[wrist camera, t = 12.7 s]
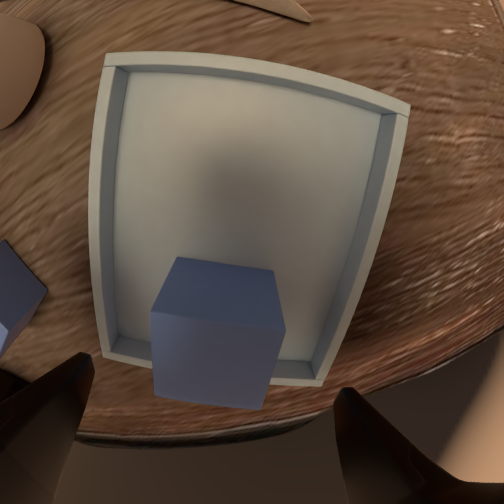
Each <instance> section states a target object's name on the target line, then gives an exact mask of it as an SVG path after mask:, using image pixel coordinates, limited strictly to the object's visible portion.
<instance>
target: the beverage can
mask: <svg viewBox="0 0 504 504" xmlns="http://www.w3.org/2000/svg"><path fill="white" fill-rule="evenodd" d="M44 56H45V42H44V37H43V34H42V32H41V30H40V29H39V28H38V27H37V26H36V25H35V24H33V23H30V22H27V21H25V20H22V19H19V18H16V17H13V16H10V15H7V14H4V13H0V130H1V129H3V128H5V127H7V126H8V125H10V124H11V123H12V122H13V121H14V120H15V119H16V118H17V117H18V116H19V115H20V114H21V113H22V111H23V110H24V109H25V107H26V105H27V104H28V102H29V101H30V99H31V97H32V95H33V93H34V91H35V89H36V86H37V84H38V81H39V78H40V75H41V72H42V68H43V63H44Z"/></svg>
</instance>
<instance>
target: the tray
mask: <svg viewBox="0 0 504 504" xmlns="http://www.w3.org/2000/svg"><path fill="white" fill-rule="evenodd" d="M409 113H410V104H408V103H405V102H403V101H401V100H398V99H396V98H393V97H391V96H388V95H386V94H383V93H381V92H378V91H375V90H373V89H370V88H367V87H364V86H361V85H358V84H355V83H352V82H349V81H346V80H343V79H339V78H336V77H333V76H329V75H326V74H322V73H318V72H314V71H310V70H306V69H302V68H298V67H294V66H289V65H284V64H279V63H274V62H269V61H263V60H257V59H251V58H244V57H237V56H229V55H220V54H209V53H196V52H176V51H136V52H117V53H107V54H106V56H105V61H104V67H103V70H102V75H101V80H100V85H99V91H98V96H97V103H96V109H95V116H94V124H93V133H92V142H91V153H90V168H89V190H88V232H89V255H90V269H91V281H92V291H93V299H94V307H95V315H96V322H97V328H98V334H99V340H100V345H101V349H102V350H101V351H102V356H103V357H104V358H108V359H112V360H116V361H120V362H124V363H128V364H133V365H137V366H142V367H146V368H151V369H152V354H151V331H150V311H151V308H152V306H153V304H154V302H155V300H156V298H157V296H158V294H159V291H160V289H161V287H162V285H163V283H164V281H165V279H166V277H167V275H168V273H169V271H170V269H171V267H172V265H173V263H174V261H175V259H176V257H184V258H190V259H197V260H203V261H210V262H217V263H223V264H230V265H237V266H244V267H251V268H258V269H265V270H272V271H274V276H275V280H276V285H277V290H278V294H279V299H280V304H281V308H282V313H283V318H284V323H285V327H286V333H285V336H284V340H283V343H282V346H281V349H280V353H279V356H278V359H277V362H276V365H275V368H274V371H273V374H272V377H271V380H270V383H269V384H270V385H288V386H322V384H323V382H324V379H325V378H326V376H327V374H328V372H329V370H330V367H331V365H332V363H333V361H334V359H335V357H336V354H337V352H338V350H339V348H340V345H341V343H342V341H343V338H344V336H345V334H346V331H347V329H348V327H349V324H350V322H351V319H352V317H353V314H354V312H355V309H356V307H357V304H358V301H359V299H360V296H361V293H362V291H363V288H364V285H365V282H366V280H367V277H368V274H369V271H370V268H371V265H372V262H373V259H374V256H375V253H376V250H377V247H378V244H379V241H380V237H381V234H382V231H383V227H384V224H385V221H386V217H387V213H388V210H389V206H390V202H391V199H392V195H393V191H394V187H395V183H396V179H397V174H398V170H399V165H400V161H401V156H402V151H403V147H404V141H405V136H406V131H407V125H408V118H407V117H409Z"/></svg>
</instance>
